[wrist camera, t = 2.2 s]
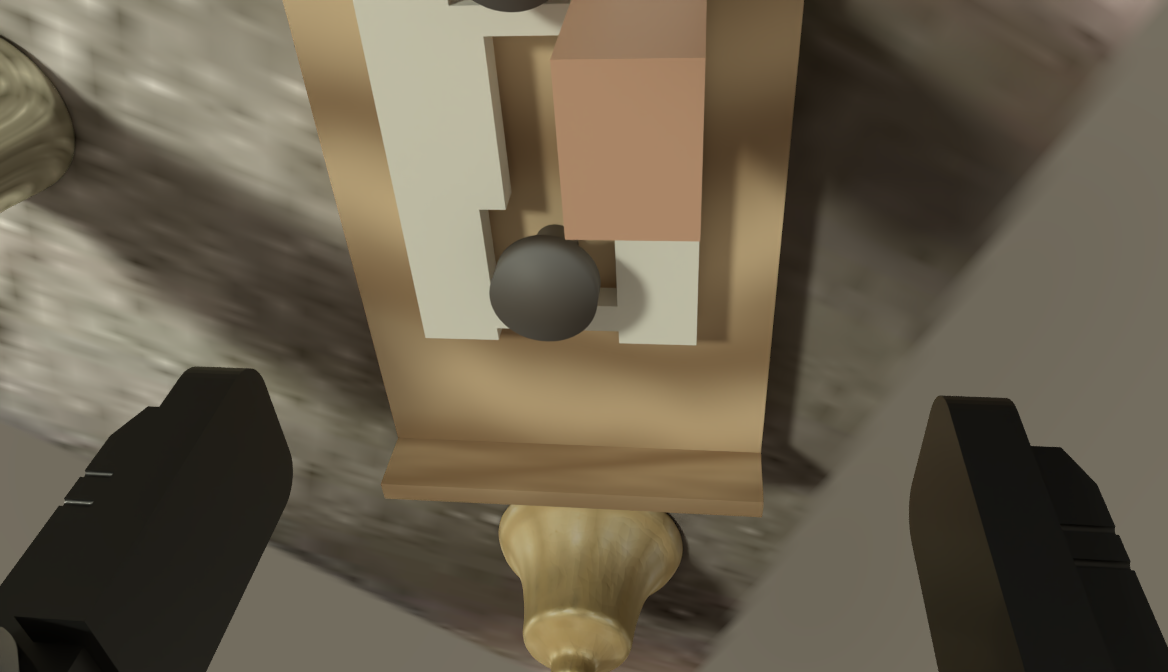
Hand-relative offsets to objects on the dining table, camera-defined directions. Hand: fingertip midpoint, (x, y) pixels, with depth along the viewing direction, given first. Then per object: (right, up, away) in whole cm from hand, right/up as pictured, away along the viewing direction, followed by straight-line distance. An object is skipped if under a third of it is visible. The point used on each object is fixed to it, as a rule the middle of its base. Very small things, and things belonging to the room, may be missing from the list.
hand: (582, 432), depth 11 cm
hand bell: (0, -8, +30) cm, 31 cm away
